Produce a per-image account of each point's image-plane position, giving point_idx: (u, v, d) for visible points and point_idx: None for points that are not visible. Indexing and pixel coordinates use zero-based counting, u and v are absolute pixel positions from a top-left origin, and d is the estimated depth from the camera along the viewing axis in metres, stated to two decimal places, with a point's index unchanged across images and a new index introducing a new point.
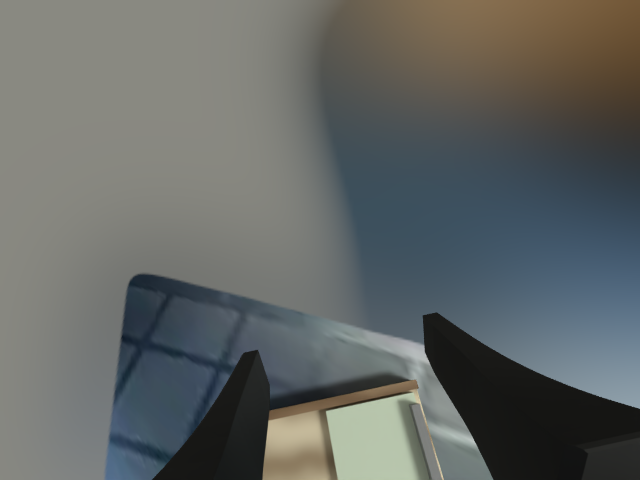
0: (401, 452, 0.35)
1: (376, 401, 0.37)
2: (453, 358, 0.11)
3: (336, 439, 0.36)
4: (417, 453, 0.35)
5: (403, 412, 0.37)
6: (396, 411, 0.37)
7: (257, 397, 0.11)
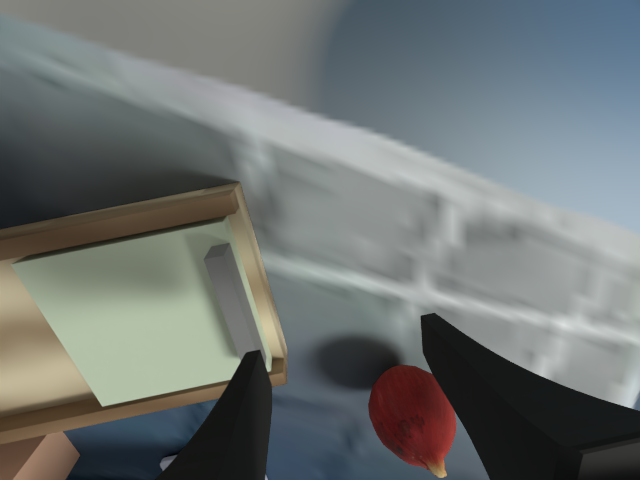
0: (196, 323, 0.18)
1: (134, 241, 0.16)
2: (450, 358, 0.11)
3: (54, 311, 0.17)
4: None
5: (199, 260, 0.16)
6: (183, 259, 0.16)
7: (259, 396, 0.11)
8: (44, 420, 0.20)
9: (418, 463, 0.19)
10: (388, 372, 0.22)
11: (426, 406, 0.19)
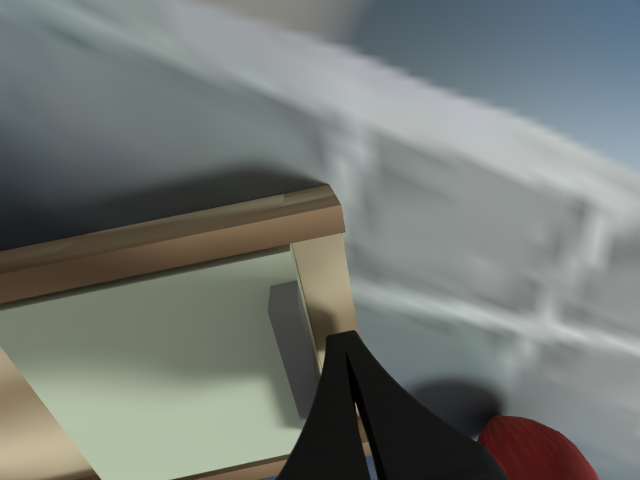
0: (242, 387, 0.13)
1: (159, 281, 0.11)
2: (354, 379, 0.11)
3: (43, 377, 0.12)
4: (285, 385, 0.13)
5: (253, 304, 0.11)
6: (229, 304, 0.11)
7: (350, 377, 0.11)
8: None
9: None
10: (501, 429, 0.17)
11: None
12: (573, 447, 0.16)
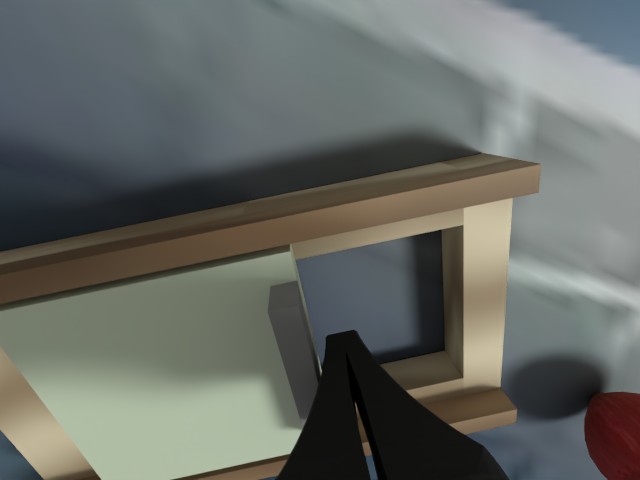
0: (242, 387, 0.13)
1: (159, 281, 0.11)
2: (354, 379, 0.11)
3: (43, 377, 0.12)
4: (285, 385, 0.13)
5: (253, 305, 0.11)
6: (229, 304, 0.11)
7: (350, 377, 0.11)
8: None
9: None
10: (618, 403, 0.17)
11: None
12: None
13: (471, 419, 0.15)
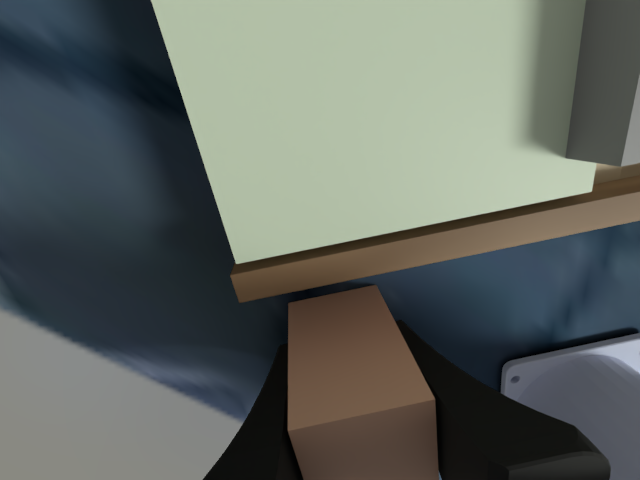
0: (491, 31, 0.07)
1: None
2: None
3: None
4: (560, 35, 0.08)
5: None
6: None
7: None
8: (489, 218, 0.10)
9: None
10: None
11: None
12: None
13: None
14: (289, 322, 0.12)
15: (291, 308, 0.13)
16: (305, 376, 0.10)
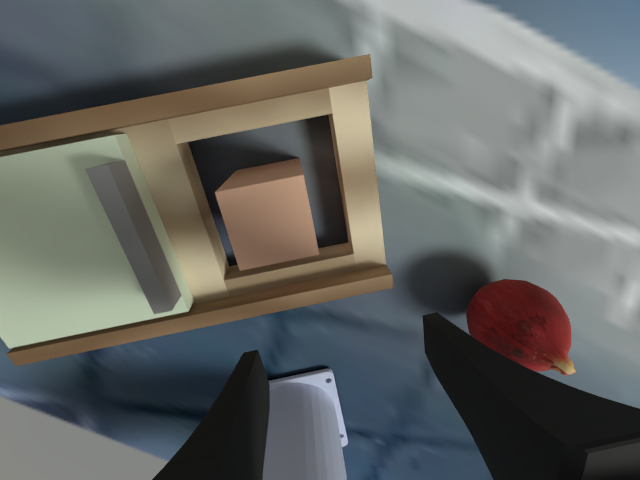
0: (99, 253, 0.17)
1: (18, 156, 0.15)
2: (453, 358, 0.11)
3: None
4: None
5: None
6: (76, 178, 0.15)
7: (257, 397, 0.11)
8: (142, 323, 0.19)
9: (540, 363, 0.18)
10: (489, 285, 0.21)
11: (545, 306, 0.18)
12: (545, 290, 0.20)
13: (355, 281, 0.19)
14: (233, 174, 0.18)
15: (237, 171, 0.19)
16: (233, 182, 0.15)
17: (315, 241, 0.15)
